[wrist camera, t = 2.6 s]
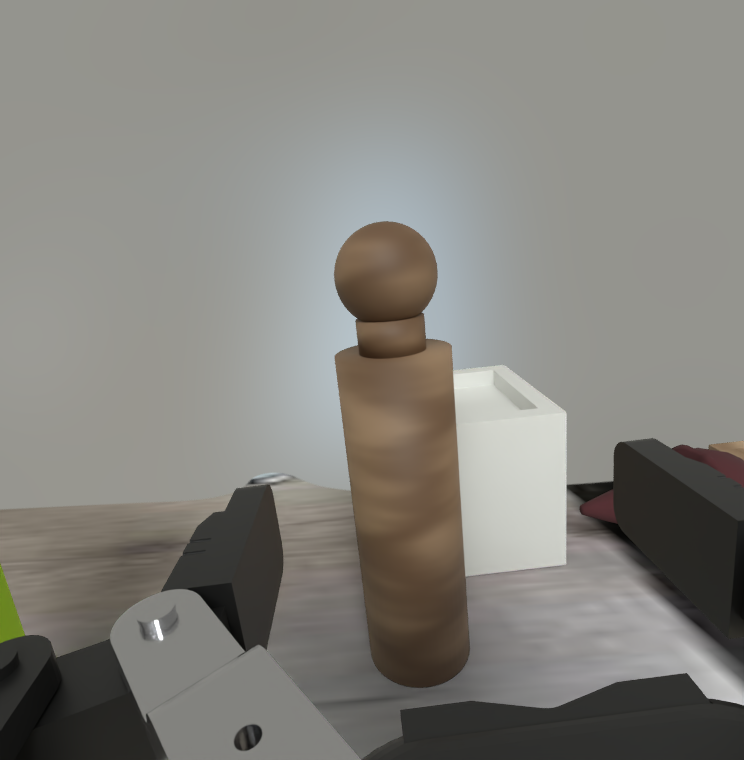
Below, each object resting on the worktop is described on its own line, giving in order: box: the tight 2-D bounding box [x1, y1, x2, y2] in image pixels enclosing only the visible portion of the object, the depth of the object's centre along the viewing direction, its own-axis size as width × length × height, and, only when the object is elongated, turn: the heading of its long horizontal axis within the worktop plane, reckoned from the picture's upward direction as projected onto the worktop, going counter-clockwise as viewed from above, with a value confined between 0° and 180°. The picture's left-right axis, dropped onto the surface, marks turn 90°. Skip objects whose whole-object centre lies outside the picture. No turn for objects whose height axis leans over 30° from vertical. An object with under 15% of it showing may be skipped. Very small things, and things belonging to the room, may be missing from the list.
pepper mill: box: [334, 221, 470, 688], centre depth 23 cm, size 5×5×22 cm
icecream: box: [580, 445, 744, 524], centre depth 31 cm, size 7×8×15 cm
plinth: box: [453, 365, 566, 577], centre depth 36 cm, size 12×12×10 cm
